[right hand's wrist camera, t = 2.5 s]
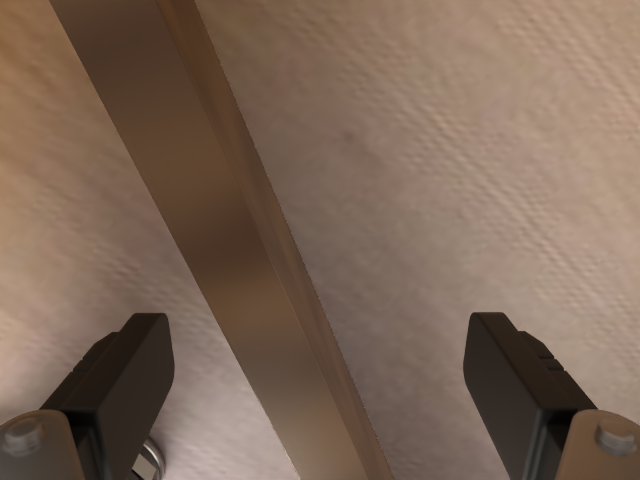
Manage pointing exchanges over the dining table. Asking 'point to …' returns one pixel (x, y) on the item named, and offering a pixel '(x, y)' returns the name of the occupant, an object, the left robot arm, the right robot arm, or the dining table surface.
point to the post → (226, 223)
